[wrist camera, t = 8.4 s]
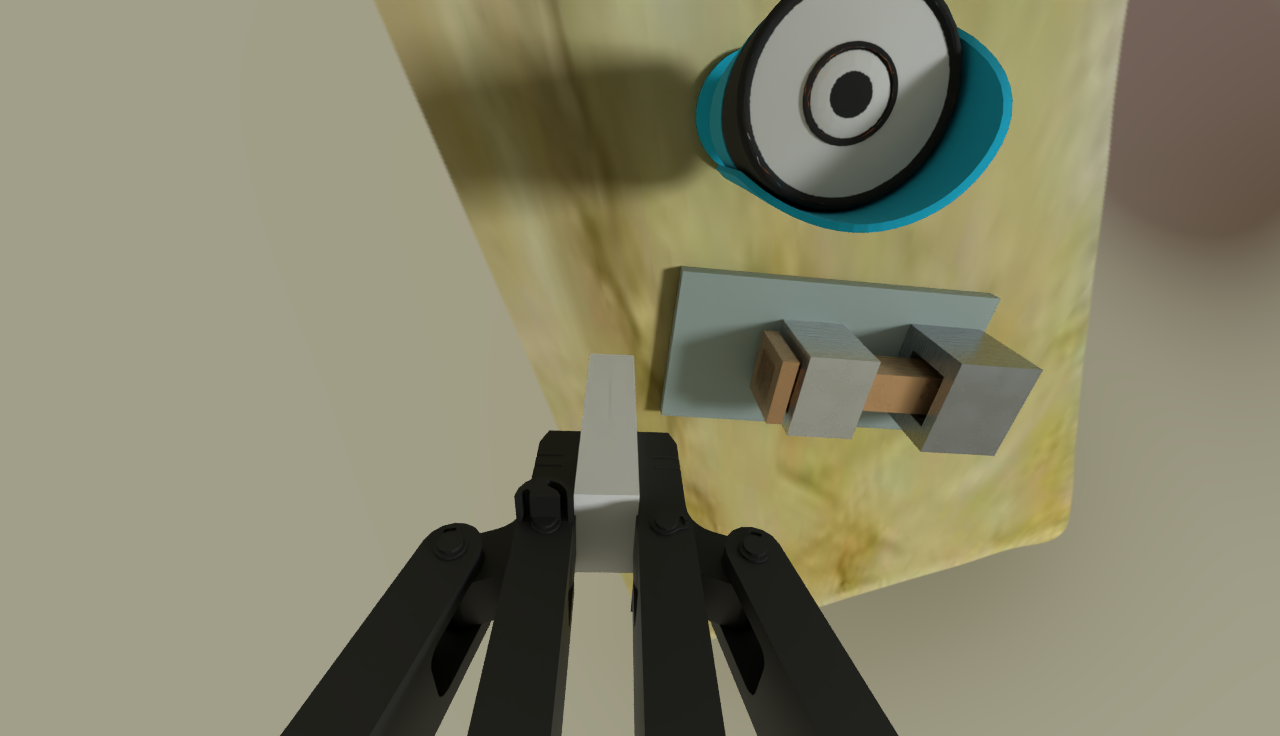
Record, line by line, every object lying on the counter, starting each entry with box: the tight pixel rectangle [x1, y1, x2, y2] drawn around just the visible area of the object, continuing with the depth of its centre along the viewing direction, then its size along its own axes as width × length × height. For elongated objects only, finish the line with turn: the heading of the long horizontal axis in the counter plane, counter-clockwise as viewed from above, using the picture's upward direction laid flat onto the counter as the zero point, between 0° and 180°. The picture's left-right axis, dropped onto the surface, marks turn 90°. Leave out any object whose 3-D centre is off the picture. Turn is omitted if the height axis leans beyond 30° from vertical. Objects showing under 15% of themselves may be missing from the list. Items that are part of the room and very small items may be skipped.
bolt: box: [749, 330, 944, 424], centre depth 38 cm, size 5×15×5 cm, turn 84°
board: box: [660, 266, 1000, 430], centre depth 42 cm, size 13×26×1 cm, turn 84°
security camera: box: [696, 0, 1013, 233], centre depth 24 cm, size 8×21×10 cm
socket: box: [887, 324, 1043, 456], centre depth 39 cm, size 8×6×7 cm
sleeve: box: [779, 319, 881, 439], centre depth 38 cm, size 7×5×6 cm
